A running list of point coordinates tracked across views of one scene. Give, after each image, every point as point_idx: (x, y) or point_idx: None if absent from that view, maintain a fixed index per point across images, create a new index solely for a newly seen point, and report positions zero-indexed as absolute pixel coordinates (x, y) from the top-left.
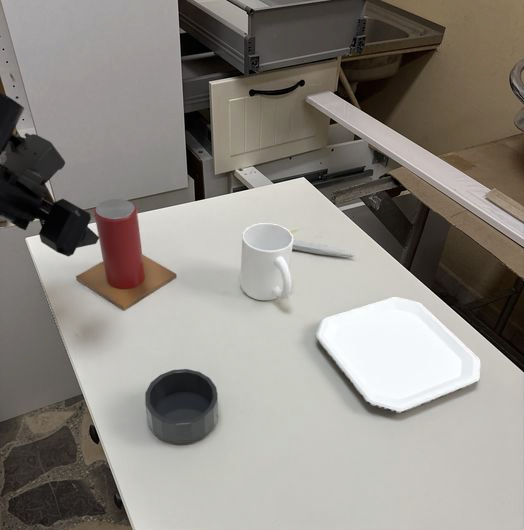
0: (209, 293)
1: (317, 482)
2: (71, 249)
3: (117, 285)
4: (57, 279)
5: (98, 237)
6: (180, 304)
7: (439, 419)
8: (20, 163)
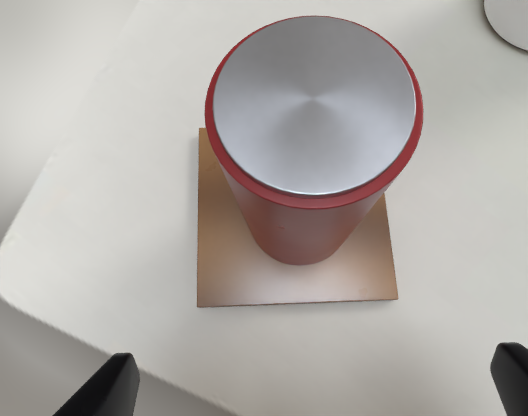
0: (476, 108)
1: None
2: None
3: (324, 258)
4: (159, 343)
5: (521, 348)
6: (466, 182)
7: None
8: None
